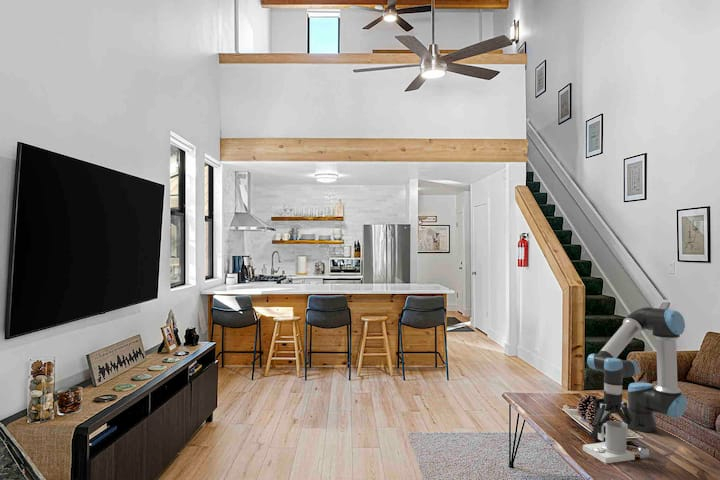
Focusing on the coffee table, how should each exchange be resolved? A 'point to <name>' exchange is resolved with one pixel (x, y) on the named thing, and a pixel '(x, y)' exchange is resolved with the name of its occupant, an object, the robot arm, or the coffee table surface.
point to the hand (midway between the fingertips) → (612, 438)
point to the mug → (615, 436)
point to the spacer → (643, 452)
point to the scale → (607, 453)
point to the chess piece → (596, 402)
